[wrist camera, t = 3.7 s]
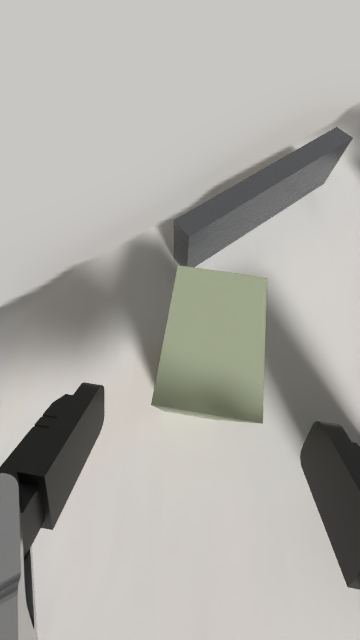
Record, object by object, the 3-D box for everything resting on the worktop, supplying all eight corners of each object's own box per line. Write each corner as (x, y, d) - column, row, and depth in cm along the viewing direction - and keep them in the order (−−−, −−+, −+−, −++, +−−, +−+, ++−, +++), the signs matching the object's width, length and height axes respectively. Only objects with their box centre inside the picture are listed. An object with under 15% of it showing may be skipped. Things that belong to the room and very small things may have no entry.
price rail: (307, 171, 29) (332, 124, 24) (323, 183, 28) (352, 137, 24) (170, 254, 24) (169, 216, 20) (186, 272, 24) (189, 236, 19)
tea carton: (222, 345, 21) (267, 277, 11) (215, 419, 19) (262, 423, 9) (174, 337, 21) (174, 264, 11) (162, 410, 19) (147, 403, 9)
